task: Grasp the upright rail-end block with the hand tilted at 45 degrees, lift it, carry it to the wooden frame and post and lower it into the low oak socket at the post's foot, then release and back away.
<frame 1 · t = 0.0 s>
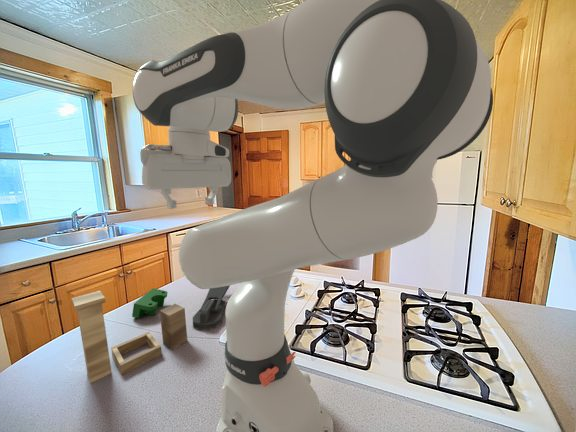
hand: (191, 206, 60), 39 cm above the countertop, tool pointing down, fingers open, 8 cm apart
rail end block: (175, 342, 70), on the countertop
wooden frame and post: (130, 358, 64), on the countertop
clamp: (152, 311, 87), on the countertop
zipper pull: (215, 308, 88), on the countertop
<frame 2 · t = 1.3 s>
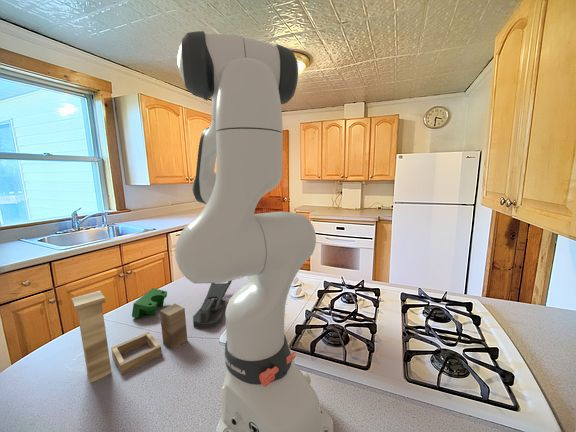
hand: (203, 267, 77), 18 cm above the countertop, tool tilted 45°, fingers open, 8 cm apart
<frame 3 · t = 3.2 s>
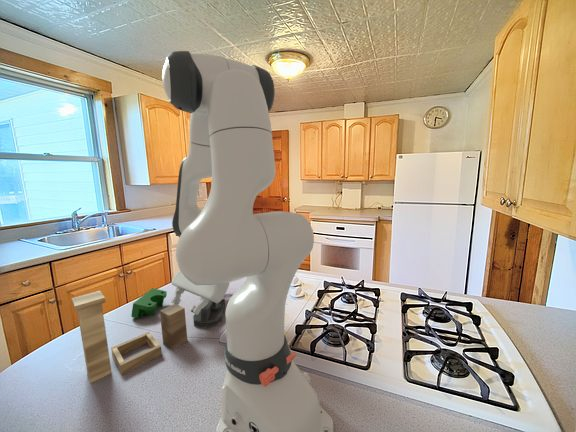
hand: (183, 308, 71), 9 cm above the countertop, tool tilted 45°, fingers open, 8 cm apart
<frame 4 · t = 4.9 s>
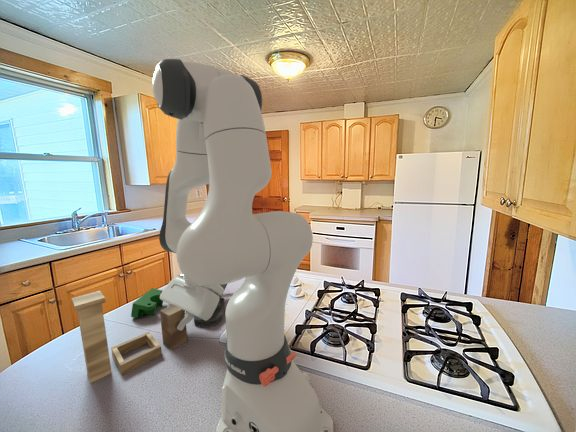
hand: (171, 325, 68), 5 cm above the countertop, tool tilted 45°, fingers closed on rail end block, 4 cm apart
rail end block: (175, 342, 70), on the countertop, touching gripper
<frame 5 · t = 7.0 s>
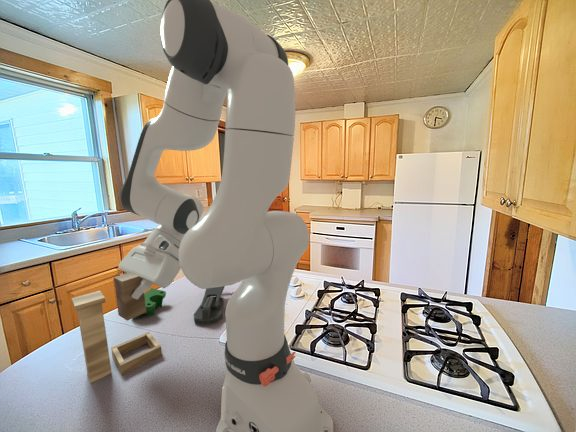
hand: (127, 294, 62), 17 cm above the countertop, tool tilted 45°, fingers closed on rail end block, 4 cm apart
rail end block: (132, 313, 63), point 12 cm above the countertop, touching gripper
when the fingers open (7 cm above the countertop, at t = 9.2 s): rail end block drops 2 cm, resting in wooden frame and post.
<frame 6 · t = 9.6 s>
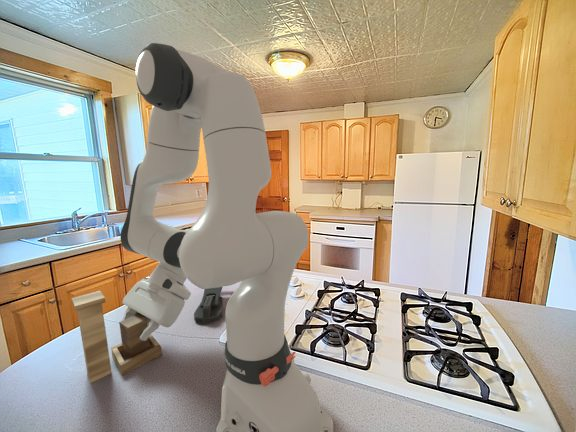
hand: (131, 333, 63), 7 cm above the countertop, tool tilted 45°, fingers open, 8 cm apart
rail end block: (137, 355, 65), resting in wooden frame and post
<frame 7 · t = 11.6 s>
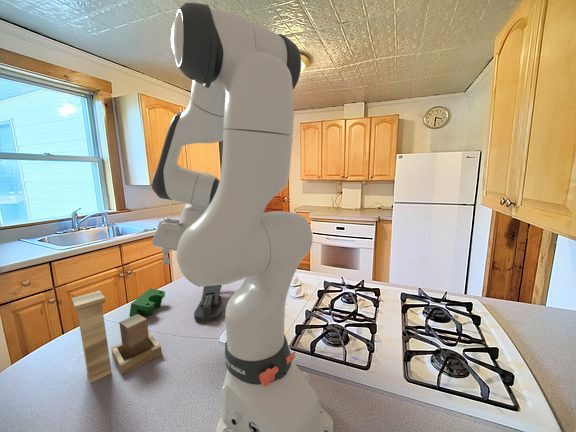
hand: (181, 267, 74), 20 cm above the countertop, tool tilted 30°, fingers open, 8 cm apart
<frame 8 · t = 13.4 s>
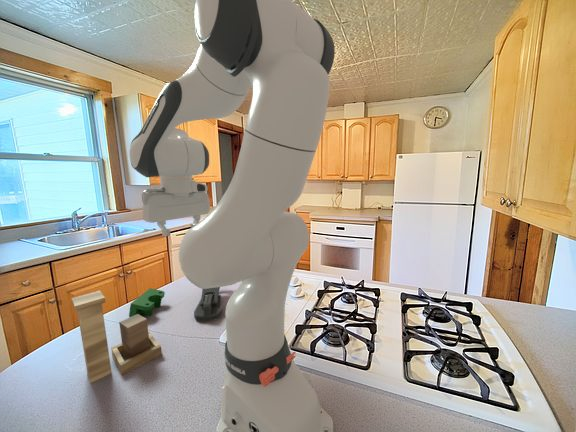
hand: (181, 232, 76), 29 cm above the countertop, tool pointing down, fingers open, 8 cm apart
at the end: rail end block 0.1 cm from the target spot on the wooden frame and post, point 0.0 cm above the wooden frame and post's base; rail end block tilted 0°; the gripper is holding nothing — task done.
